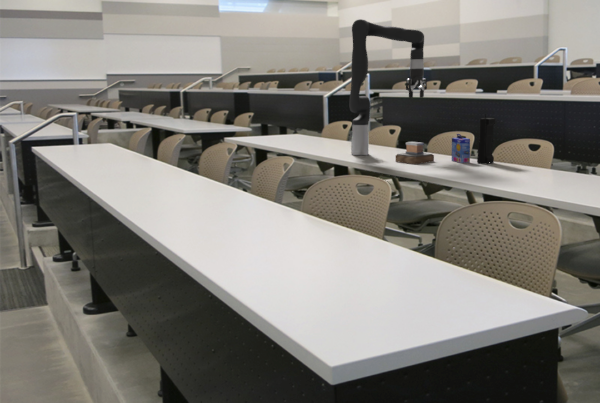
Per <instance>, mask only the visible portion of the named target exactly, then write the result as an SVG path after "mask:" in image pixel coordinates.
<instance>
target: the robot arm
mask: <svg viewBox="0 0 600 403" xmlns="http://www.w3.org/2000/svg"><path fill="white" fill-rule="evenodd" d="M351 33H352V36H351V37H352V53H351V71H350V72H351V83H350V94H349V101H348V102H349V110H350V112H351V113H354V114H358V113H359V114H358V116H357V117H355V118H354V119H352V127H351V128H352V132H351V133H352V137H351V138H350V139H351V142H350V143H351V145H350V147H351V148H350V149H351V152H350V153H351V155H352V156H353V155H354V156H367V155H369V148H370V147H369V146H370V145H369V142H370V141H369V132H370V131H369V122H370V117H371V101H370V98H369V97H368V96H366V95H360V92H361V87H362V85H363V83H364V81H365V79H366V77H367V75H368V73H369V71H368V70H369V57H368V51H367V37H379V38H383V39H387V40H392V41H397V42H407V43H411V48H410V49H411V50H410V54H409V56H410V60H409V77H410V78H407V79H406V80H405V90H406V91H408V98H409V99H413V98H414V89H415V88H418V89H419V98H421V99H422V98H424V97H425V91H426V90H427V89H428V82H427V78H424V75H425V74H424V71H425V69H424V68H425V62H424V47H425V46H424V45H425V34H424V33H423V31H420V29H419V30H418V29H411V28H409V29H408V28H403V27H397V26H392V25H391V26H390V25H380V24H376V23H374V22H373V23H372V22H370V21H367V20H366V19H359V18H358V19H356V20H355V21H354V22H353V24H352V26H351Z"/></svg>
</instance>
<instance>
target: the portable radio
mask: <svg viewBox="0 0 600 403" xmlns="http://www.w3.org/2000/svg"><path fill="white" fill-rule="evenodd" d="M495 124H496V118H494V117H487V113H485V116H484V117H481V118H479V129H478V130H479V131H478V136H479V138H478V139H479V140H478V147H477V157H476V158H477V159H476V162H477V164H480V163H489V162H493V163H494V162H495V161H494V158H495V157H494V156H493V151H494V150H493V148H494V145H493V144H494V125H495Z"/></svg>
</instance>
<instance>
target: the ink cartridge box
mask: <svg viewBox="0 0 600 403" xmlns="http://www.w3.org/2000/svg"><path fill="white" fill-rule="evenodd" d="M456 136H457V137H452V138H451V162H456V163H460V164H464V163H465V164H467V163H470V162H471V140H470V138H467V137H462V136H463V135H462V134H459V133H456Z"/></svg>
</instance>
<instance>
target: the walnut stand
mask: <svg viewBox="0 0 600 403" xmlns="http://www.w3.org/2000/svg"><path fill="white" fill-rule="evenodd" d="M395 162H396V163H405V164H412V165H420V164H425V163H426V162H427V163H433V162H435V155H434V154H433V153H427V152H424V154H421V155H412V154H406V152H401V153H397V154H396V155H395Z"/></svg>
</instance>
